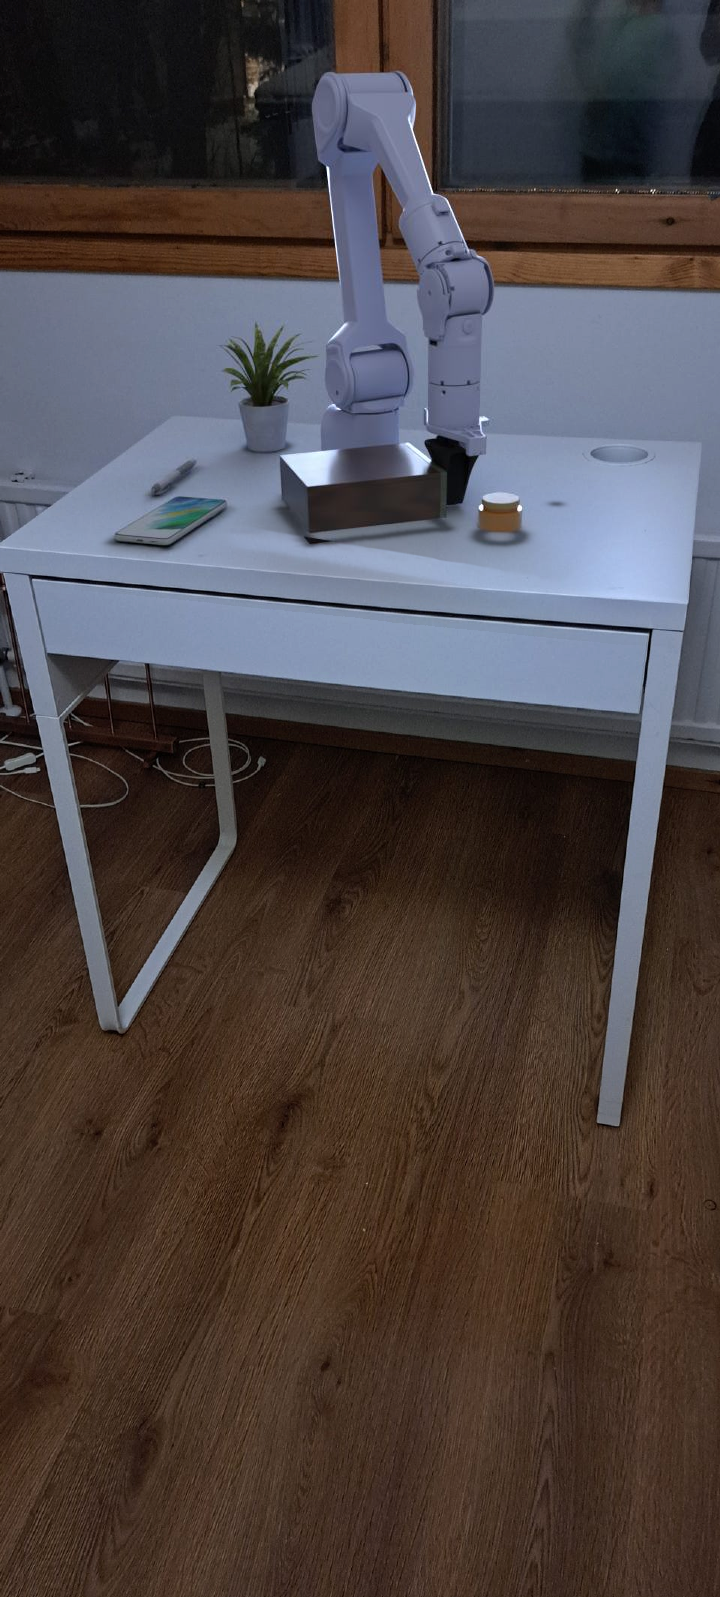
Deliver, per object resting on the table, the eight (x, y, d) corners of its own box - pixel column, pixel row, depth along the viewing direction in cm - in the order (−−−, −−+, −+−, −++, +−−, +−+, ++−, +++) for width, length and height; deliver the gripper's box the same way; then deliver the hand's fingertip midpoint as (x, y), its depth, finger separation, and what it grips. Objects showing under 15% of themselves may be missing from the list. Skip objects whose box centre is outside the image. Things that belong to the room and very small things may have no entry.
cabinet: (403, 495, 142) (403, 443, 138) (439, 529, 131) (440, 472, 127) (282, 509, 138) (279, 455, 135) (309, 544, 127) (307, 486, 124)
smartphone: (111, 534, 129) (176, 495, 140) (112, 542, 129) (177, 502, 141) (168, 540, 126) (229, 499, 138) (169, 547, 127) (230, 506, 139)
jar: (470, 539, 128) (471, 501, 125) (487, 526, 131) (489, 489, 129) (511, 545, 126) (513, 507, 123) (527, 532, 129) (529, 494, 127)
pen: (149, 498, 143) (147, 486, 142) (192, 466, 154) (191, 456, 153) (156, 498, 143) (155, 487, 142) (199, 467, 154) (198, 456, 153)
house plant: (273, 469, 153) (266, 338, 144) (192, 454, 159) (181, 328, 151) (334, 444, 163) (330, 320, 154) (256, 431, 169) (248, 312, 161)
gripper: (514, 390, 121) (509, 517, 129) (464, 364, 133) (462, 481, 140) (451, 397, 120) (450, 525, 127) (406, 370, 132) (407, 488, 139)
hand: (452, 503), depth 134 cm, fingers closed, pressing on drawer
